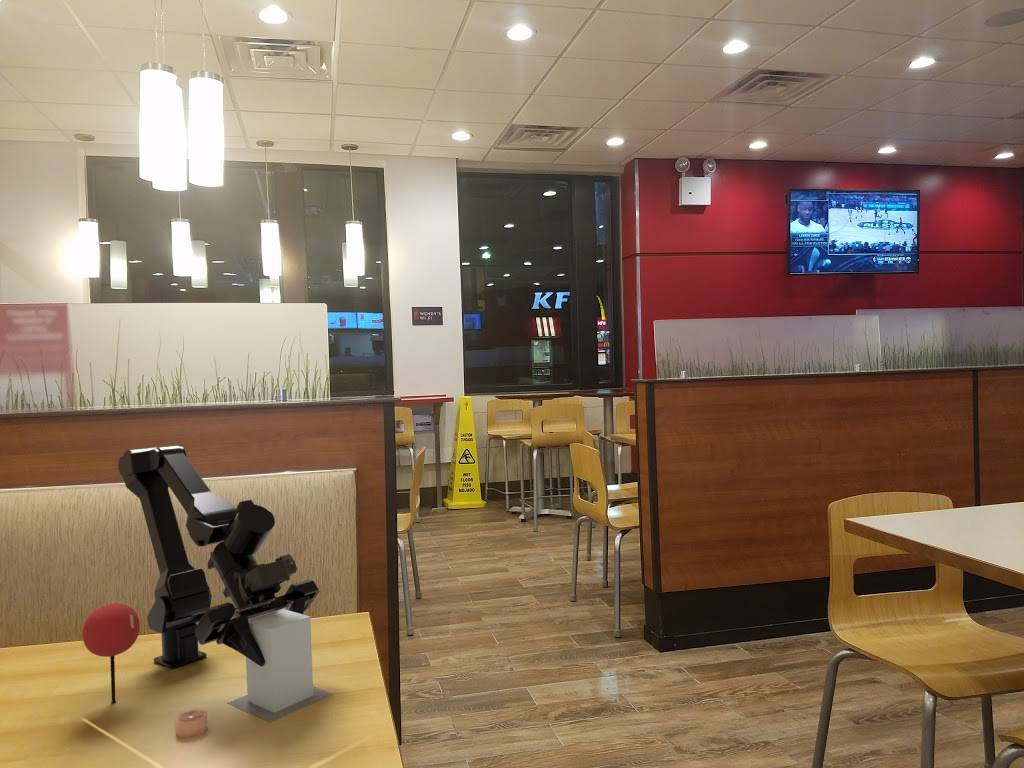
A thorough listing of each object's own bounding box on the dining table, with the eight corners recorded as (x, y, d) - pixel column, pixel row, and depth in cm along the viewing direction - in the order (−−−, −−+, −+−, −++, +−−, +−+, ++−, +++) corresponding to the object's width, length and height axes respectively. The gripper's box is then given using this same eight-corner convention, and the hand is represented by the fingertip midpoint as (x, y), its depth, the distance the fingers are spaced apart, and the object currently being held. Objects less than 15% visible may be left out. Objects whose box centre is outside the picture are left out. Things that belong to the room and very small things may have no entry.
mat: (227, 705, 109) (227, 702, 109) (290, 680, 117) (290, 677, 117) (269, 725, 102) (269, 722, 102) (333, 696, 111) (333, 693, 111)
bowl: (170, 736, 100) (169, 718, 100) (197, 724, 103) (196, 706, 103) (186, 744, 98) (185, 725, 98) (213, 732, 101) (212, 713, 101)
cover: (247, 701, 109) (244, 621, 109) (286, 685, 115) (283, 609, 114) (274, 712, 105) (270, 629, 105) (313, 695, 110) (310, 616, 110)
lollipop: (84, 718, 106) (79, 616, 106) (87, 698, 113) (83, 602, 113) (142, 705, 110) (138, 606, 110) (142, 687, 117) (138, 594, 117)
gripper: (201, 553, 105) (247, 645, 98) (310, 529, 119) (357, 608, 113) (176, 599, 110) (218, 690, 103) (283, 571, 124) (327, 648, 118)
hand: (284, 656), depth 109 cm, fingers closed on cover, 7 cm apart
